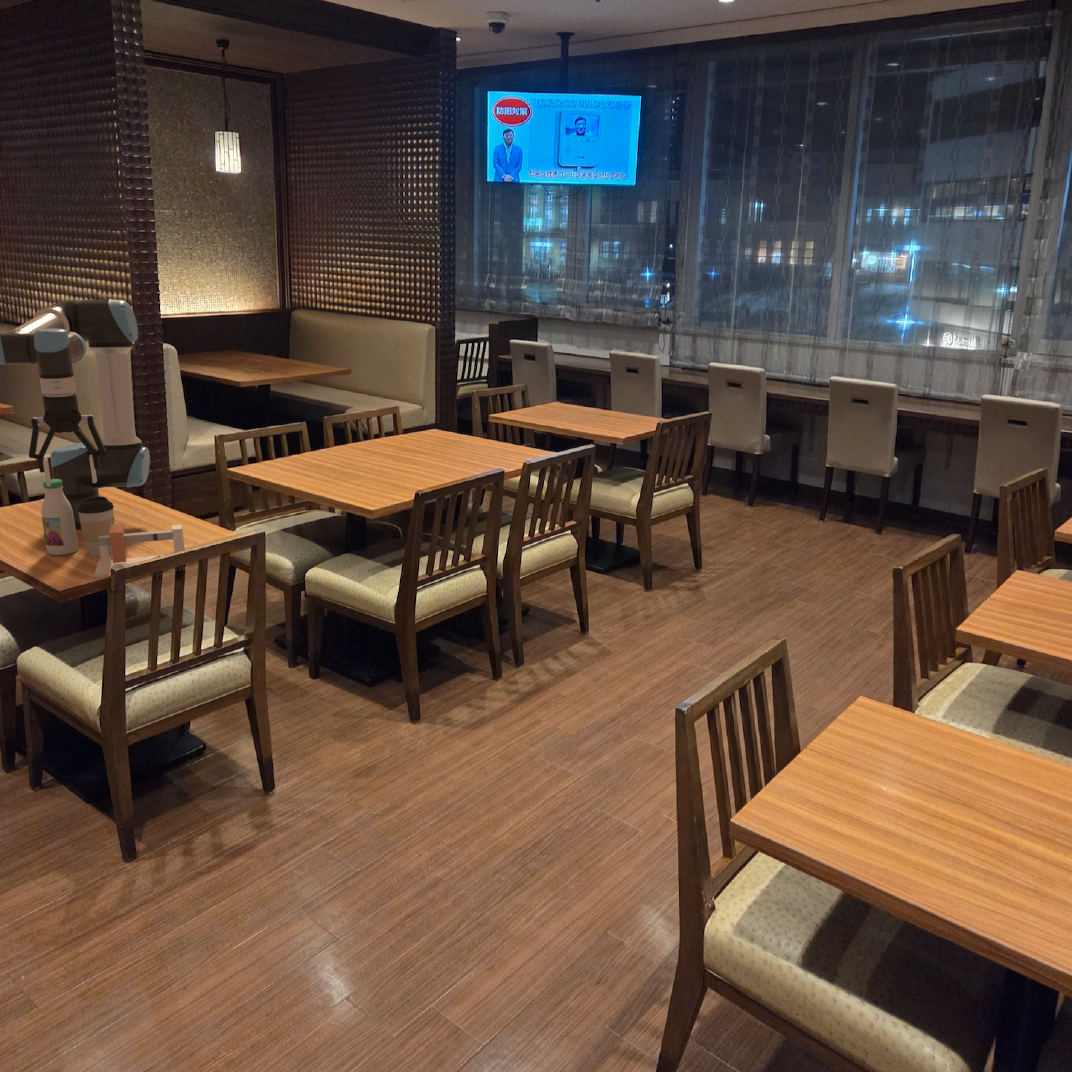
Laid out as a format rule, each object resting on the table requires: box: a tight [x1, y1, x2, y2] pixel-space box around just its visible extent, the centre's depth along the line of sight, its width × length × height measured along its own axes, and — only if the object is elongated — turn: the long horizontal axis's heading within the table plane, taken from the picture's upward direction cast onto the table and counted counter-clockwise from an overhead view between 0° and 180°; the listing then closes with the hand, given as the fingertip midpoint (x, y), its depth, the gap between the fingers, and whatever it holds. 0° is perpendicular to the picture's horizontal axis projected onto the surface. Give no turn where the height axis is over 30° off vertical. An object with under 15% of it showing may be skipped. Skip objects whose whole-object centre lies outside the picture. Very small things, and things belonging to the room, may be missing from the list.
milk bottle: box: [41, 478, 79, 556], centre depth 258 cm, size 8×8×20 cm
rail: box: [94, 523, 188, 578], centre depth 249 cm, size 11×22×10 cm, turn 109°
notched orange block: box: [109, 522, 129, 563], centre depth 247 cm, size 8×3×8 cm, turn 19°
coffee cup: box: [77, 495, 116, 558], centre depth 258 cm, size 9×9×15 cm
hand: (72, 483), depth 239 cm, fingers open, 10 cm apart
